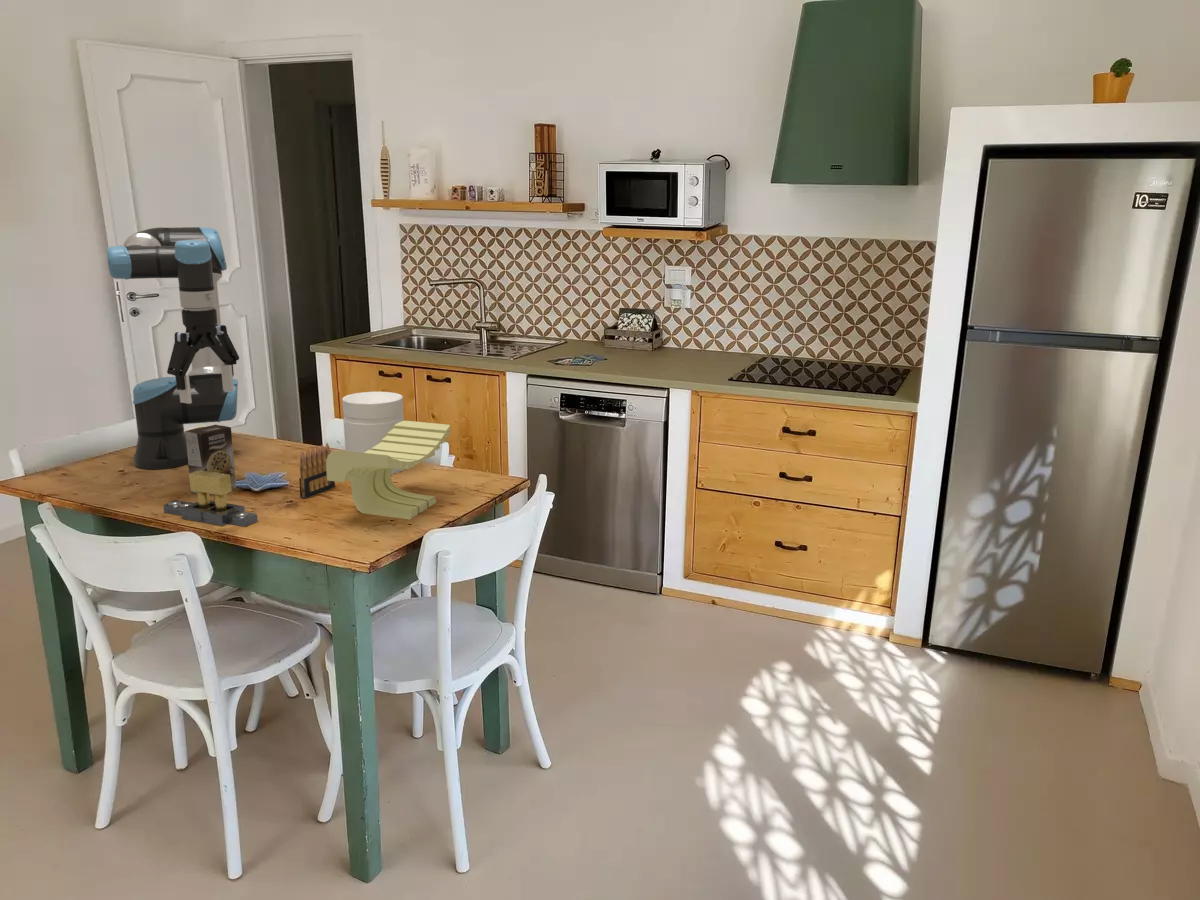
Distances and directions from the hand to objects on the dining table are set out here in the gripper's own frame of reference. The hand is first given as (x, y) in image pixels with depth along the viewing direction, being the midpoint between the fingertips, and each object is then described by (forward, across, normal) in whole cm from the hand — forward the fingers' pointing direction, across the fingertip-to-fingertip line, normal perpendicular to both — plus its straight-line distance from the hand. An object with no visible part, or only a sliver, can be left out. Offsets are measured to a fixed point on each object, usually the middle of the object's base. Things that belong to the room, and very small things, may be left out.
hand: (207, 396), depth 217 cm
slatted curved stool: (+25, +11, -44) cm, 52 cm away
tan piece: (+25, -12, -10) cm, 30 cm away
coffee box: (+26, +4, +5) cm, 27 cm away
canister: (+26, +37, -21) cm, 50 cm away
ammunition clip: (+26, +13, -20) cm, 35 cm away
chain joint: (+25, -12, -10) cm, 30 cm away
